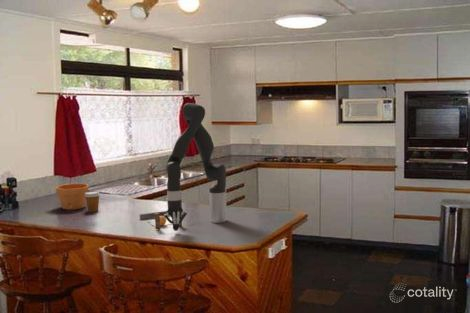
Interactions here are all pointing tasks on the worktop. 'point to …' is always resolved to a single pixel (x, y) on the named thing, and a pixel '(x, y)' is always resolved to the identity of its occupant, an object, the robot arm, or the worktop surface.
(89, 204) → the disposable coffee cup
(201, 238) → the worktop surface
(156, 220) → the post
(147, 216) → the stopper wall
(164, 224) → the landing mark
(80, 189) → the flower pot
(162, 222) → the ball
